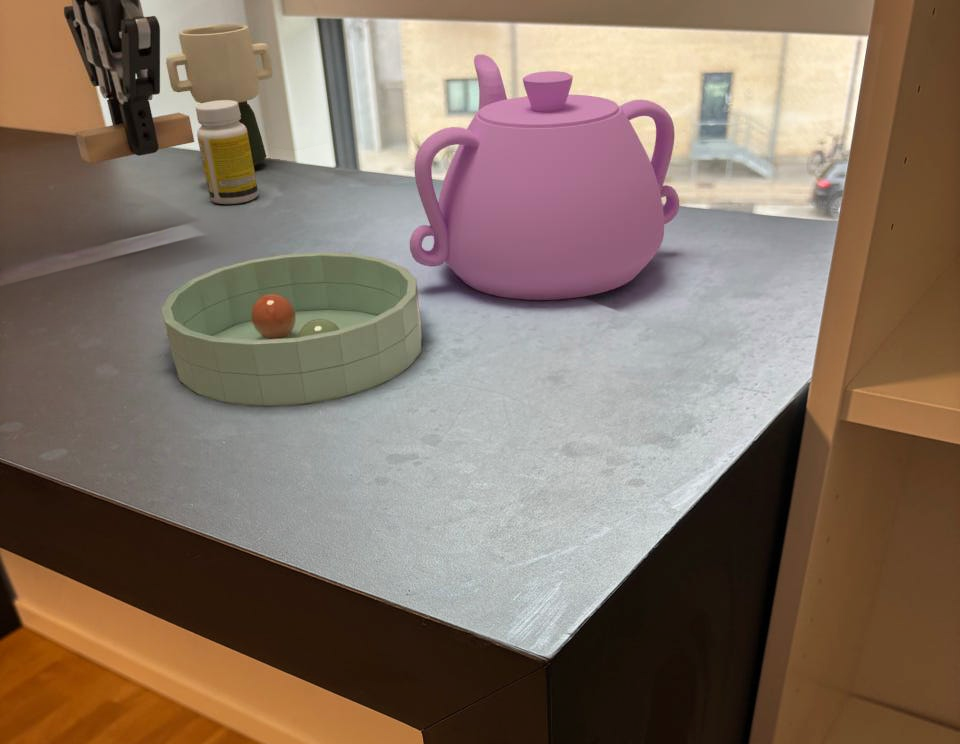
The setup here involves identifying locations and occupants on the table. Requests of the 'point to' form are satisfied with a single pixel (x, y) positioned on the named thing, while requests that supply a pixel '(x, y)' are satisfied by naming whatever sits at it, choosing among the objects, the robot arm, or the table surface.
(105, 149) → the wooden block
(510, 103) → the teapot
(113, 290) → the table surface
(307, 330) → the sage bead
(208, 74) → the character mug
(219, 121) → the supplement bottle
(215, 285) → the bowl
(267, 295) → the terracotta bead
